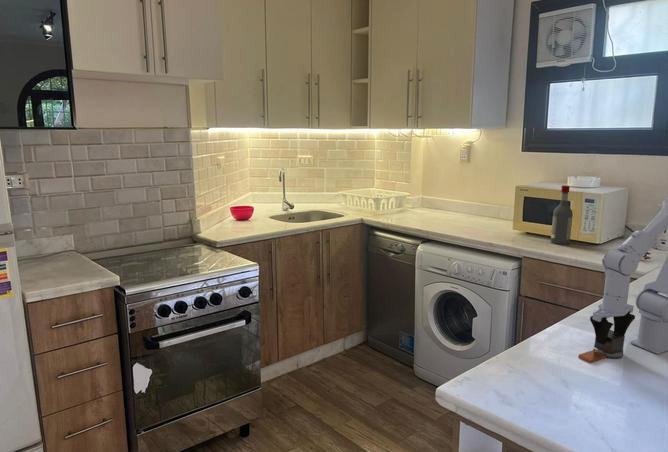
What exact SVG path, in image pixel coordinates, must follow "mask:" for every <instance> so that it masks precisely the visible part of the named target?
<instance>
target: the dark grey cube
mask: <svg viewBox="0 0 668 452" xmlns="http://www.w3.org/2000/svg"><path fill="white" fill-rule="evenodd" d="M625 338H626V336H625V335H622V334H619V333H617V332H614V330H612V329H610V330H609V333H608V337H607V341H606V343H605V345H602V344H600V343H598V342H597V341H596V337H595V338H594V339H595V340H594V345H595V346H594V345H593V348H594V347H595V348H597V349H599V350H602V351H604V352H606V353H609V354H611V355H612V354H615V353H618V352H621V351H623V352H624V345H625Z"/></svg>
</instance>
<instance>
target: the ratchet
mask: <svg viewBox="0 0 668 452" xmlns="http://www.w3.org/2000/svg"><path fill="white" fill-rule="evenodd" d="M594 346H595V344H594V345H593V349H592V350H589V351H585V352H583V353H579V354H578V356H577V357H578V359H580V360H582V361H584V362H587V363H589V364H592V363H596V362H599V361H601V360H605V359H610V360H611V359H612V360H620V359H622V358H623V357H624V350H623V351H621V352H618V353H615V354H612V355H611V354H609V353H606V352H604V351H602V350H599V349H597V348H595V347H594Z"/></svg>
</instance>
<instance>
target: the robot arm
mask: <svg viewBox="0 0 668 452" xmlns="http://www.w3.org/2000/svg"><path fill="white" fill-rule="evenodd" d="M661 206H662V208H661V209H660V211H659V212H658V213H657V214H656V215H655V217H653V219H651V221H650V222H649V223H648V224H647V225H646V226H645V227H644V229H642V230H635V231H633V232H632V233H631V234H630V236H629V237H627V238H626V239H625V240H624V241H623V242H622V243H621V244H620V245H619V246H618V247H617V248H614V249H610V250H608V251H607V252H606V253H605V255H604V256H603V258H602V259H601V263H602V266H603V269H604V275H605V279H604V280H605V281H604V288H603V296H602V303H600V304H598V306H597V307H598V309H597V310H596V311H594V312H593V313H592V315H590V317H589V320H590V323H591V325H592V327H593V330H594V335H595V338H596V341H597V342H598V343H600V344H602V345H605V343H606V341H607V337H608V333H609V330H611V329H612V327H613V331H614V332H617V333H619V334H622V335H624V336H625V335H626V332H627V331H628V328H629V327H630V325H631V324H632V323H633V322H634V320H635V319H636V315H635V314H633V313H634V308H635V307H634V306H636V308H637V309H638V313H639V314H640V319H639V320H640V321H639V326H638V332H637V333H638V334H637V338H636V339H633V340H630V341H629V343H630V345H631V344H632V345H634V346H636V347H639V348H641V349H644V350H647V351H649V352H651V353H654V354H656V355H659V354H662V353H665V352H667V351H668V254H667V255H666V257H665V259H664V262H663V265H661V269H660V270H659V273H658V275H657V277H656V279H655V280H653V281H651V282H647V283H645V285H644V287H643V288H642V289H641V291H640V292H639V293H638V294H637V296H636V298H635V305H633V304H629V303H628V298H629V292H630V284H631V276H632V274H633V273H634V272H636V270H638V267H639V264H640V263H641V260H642V259H641V258H643V256H645V255H646V254H647V253H648V252H649V251H650V250H651V249H652V248H653V247H654V246H655V243H656V242H655V239H656V238H657V237H659V236H660V235H661V234H663V232H665V231H667V229H668V196H667V198H665V199H664V200H663V201H662V205H661ZM608 318H612V319H613V323H612V322H609V321H608V320H609V319H608Z"/></svg>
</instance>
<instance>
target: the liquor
mask: <svg viewBox="0 0 668 452" xmlns="http://www.w3.org/2000/svg"><path fill="white" fill-rule="evenodd" d="M560 192H561V198H560V203H559V205H557V206H556V207H555V208H554V210H553V215H552V223H551V234H550V243H551V244H555V245H563V246H566V245H567V246H568V245H569V244H570V242H571V233H572V227H573V226H572V225H573V217H574V216H573V213H574V212H573V210H572V209H571V207H570V206H569V204H568V203H569V202H568V201H569V199H568V198H569V192H570V185H561V190H560Z"/></svg>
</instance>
